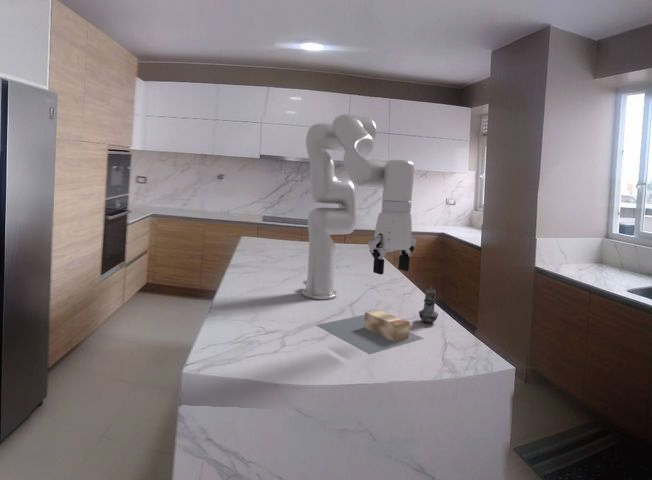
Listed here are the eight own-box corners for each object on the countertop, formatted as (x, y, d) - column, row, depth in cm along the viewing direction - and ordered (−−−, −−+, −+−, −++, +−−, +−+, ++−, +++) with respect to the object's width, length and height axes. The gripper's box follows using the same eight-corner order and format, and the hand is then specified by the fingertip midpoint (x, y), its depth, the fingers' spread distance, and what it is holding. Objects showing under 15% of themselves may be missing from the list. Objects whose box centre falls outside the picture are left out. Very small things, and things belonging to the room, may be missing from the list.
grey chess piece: (423, 328, 119) (427, 288, 118) (413, 321, 125) (417, 283, 123) (441, 327, 121) (445, 288, 119) (431, 320, 127) (434, 283, 125)
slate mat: (315, 327, 115) (315, 325, 115) (367, 316, 127) (367, 314, 127) (369, 357, 98) (369, 354, 98) (423, 341, 110) (423, 338, 110)
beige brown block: (364, 327, 115) (365, 311, 114) (376, 324, 118) (378, 308, 118) (395, 342, 106) (396, 325, 105) (408, 338, 109) (409, 321, 108)
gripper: (407, 207, 115) (402, 266, 118) (362, 206, 105) (357, 271, 107) (428, 209, 109) (423, 271, 112) (383, 209, 99) (377, 278, 101)
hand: (391, 271), depth 109 cm, fingers open, 9 cm apart
